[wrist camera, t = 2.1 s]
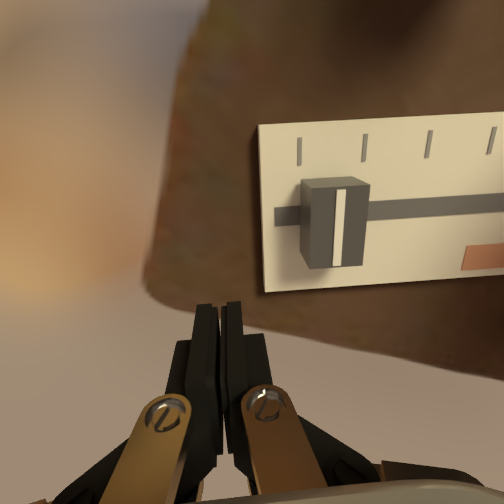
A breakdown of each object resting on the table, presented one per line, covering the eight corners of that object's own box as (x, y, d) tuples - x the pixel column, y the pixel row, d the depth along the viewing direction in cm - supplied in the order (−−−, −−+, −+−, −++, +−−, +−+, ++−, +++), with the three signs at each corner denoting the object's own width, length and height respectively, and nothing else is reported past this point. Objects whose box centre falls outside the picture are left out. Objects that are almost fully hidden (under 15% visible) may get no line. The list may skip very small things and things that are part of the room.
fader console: (579, 107, 25) (601, 106, 24) (528, 264, 31) (543, 272, 29) (257, 124, 24) (259, 125, 23) (263, 284, 30) (265, 292, 28)
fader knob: (352, 176, 24) (371, 185, 21) (346, 247, 27) (363, 266, 23) (300, 179, 24) (312, 188, 21) (299, 251, 26) (309, 270, 23)
